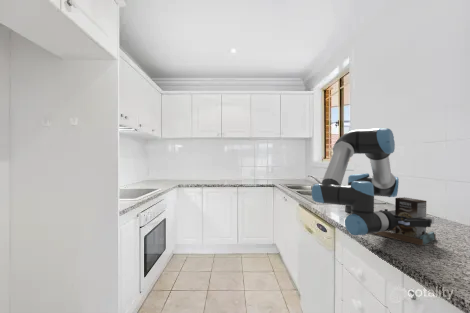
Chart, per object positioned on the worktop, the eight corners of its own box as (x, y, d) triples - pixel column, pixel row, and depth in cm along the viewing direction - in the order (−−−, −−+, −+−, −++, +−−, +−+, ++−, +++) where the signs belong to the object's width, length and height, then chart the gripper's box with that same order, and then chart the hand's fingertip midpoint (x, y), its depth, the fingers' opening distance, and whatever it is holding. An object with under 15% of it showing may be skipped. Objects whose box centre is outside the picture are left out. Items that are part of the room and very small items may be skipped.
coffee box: (394, 235, 109) (394, 197, 109) (404, 234, 111) (404, 196, 111) (416, 242, 100) (416, 201, 101) (427, 240, 103) (427, 200, 103)
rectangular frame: (380, 226, 123) (380, 220, 123) (435, 239, 104) (435, 231, 104) (364, 231, 115) (364, 224, 115) (421, 245, 97) (421, 237, 97)
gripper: (353, 223, 110) (386, 218, 119) (414, 240, 87) (450, 233, 96) (353, 205, 110) (386, 202, 119) (414, 218, 87) (450, 213, 96)
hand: (415, 216), depth 107 cm, fingers open, 13 cm apart
